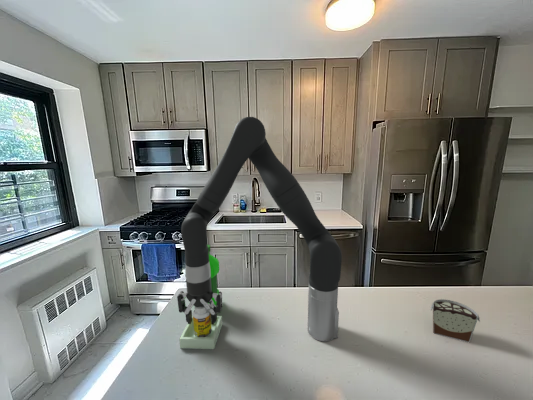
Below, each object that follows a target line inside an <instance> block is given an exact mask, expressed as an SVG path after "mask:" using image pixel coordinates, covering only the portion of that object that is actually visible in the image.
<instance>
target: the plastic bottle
mask: <svg viewBox="0 0 533 400" xmlns="http://www.w3.org/2000/svg"><path fill="white" fill-rule="evenodd" d="M207 246H208V251H209V263H210V269H211V286H212V292H213V293H218V292H220V290H219V288H218V279H217V278H218V277H217V276H218V273H220V261H219V259H218V258H217V257H216V256H214V255H212V254H210V252H211V245H210V244H208V243H207ZM212 300H213V302H214V305H215V306H216V307H217V302H216V301H215V299H214V298H213V297H212ZM208 304H209V303H208Z"/></svg>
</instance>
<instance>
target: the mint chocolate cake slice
mask: <svg viewBox="0 0 533 400" xmlns="http://www.w3.org/2000/svg"><path fill="white" fill-rule="evenodd" d="M429 310H430V311H432V333H434V334H433V335H437V336H440V337H441V336H442V337H446V338H449V339H452V340H453V339H454V340H456V341H460V340H461V341H462V342H464V341H465V342H464V343H468V342H469V344H470V343H471V340H472V338H473V337H472V336H473V334H474V331H475V327H476V325H477V322H481V320H480V318H481V317H480V315H479V314H478V312H477V311H475V309H472V308H471V307H469V306H467V305H465V304H463V303H461V302H458V301H454V300H450V299H446V298H445V299H444V298H443V299H442V298H441V299H436V300H434V301H433V302H432V304H431V306H430V309H429ZM461 341H460V342H461Z"/></svg>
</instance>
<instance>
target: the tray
mask: <svg viewBox="0 0 533 400" xmlns="http://www.w3.org/2000/svg"><path fill="white" fill-rule="evenodd" d="M222 326H223V316H222V315H217V320H216V322H215V323H214V324H211V328H212V331H211V334H210V335H209V336H208V337H195V335H194V324H193V314H192V322H191V324H188V323H186V326H185V327H184V329H183V331H182V333H181V336H180V337H179V348H180V349H192V350H193V349H197V350H201V349H202V350H214V349H216V346H217V342H218V339H219V336H220V332H221V330H222Z"/></svg>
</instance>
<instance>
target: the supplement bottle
mask: <svg viewBox="0 0 533 400" xmlns="http://www.w3.org/2000/svg"><path fill="white" fill-rule="evenodd" d="M192 315H193V324H194V335H195V337H208V336H209V335H210V334H211V331H212V328H211V313H210V311H209V310H207V309H206V307H200V306H199V307H195V306H194V310H193V311H192Z"/></svg>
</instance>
